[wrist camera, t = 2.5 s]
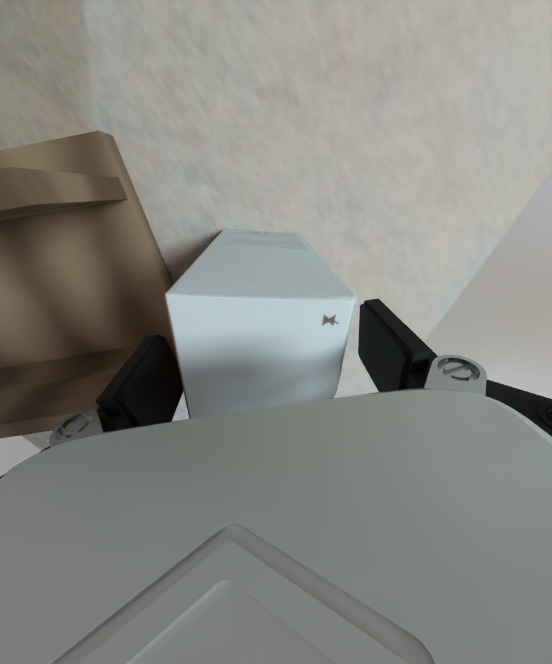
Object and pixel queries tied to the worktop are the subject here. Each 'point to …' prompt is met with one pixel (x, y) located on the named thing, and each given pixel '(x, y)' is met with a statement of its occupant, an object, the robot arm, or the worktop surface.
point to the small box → (258, 324)
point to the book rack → (71, 278)
